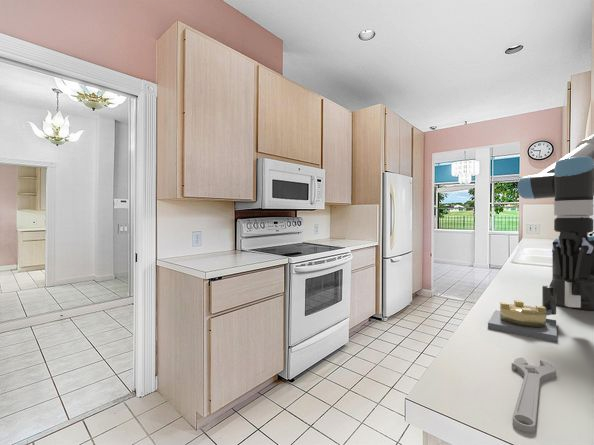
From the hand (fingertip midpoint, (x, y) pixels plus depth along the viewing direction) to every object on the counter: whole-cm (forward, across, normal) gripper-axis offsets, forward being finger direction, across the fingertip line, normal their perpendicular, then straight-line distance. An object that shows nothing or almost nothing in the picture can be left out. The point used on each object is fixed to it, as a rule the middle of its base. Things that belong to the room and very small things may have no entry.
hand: (572, 306), depth 78 cm
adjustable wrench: (+7, -33, +27) cm, 43 cm away
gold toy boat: (+5, +2, +8) cm, 10 cm away
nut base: (+6, +3, +11) cm, 13 cm away
